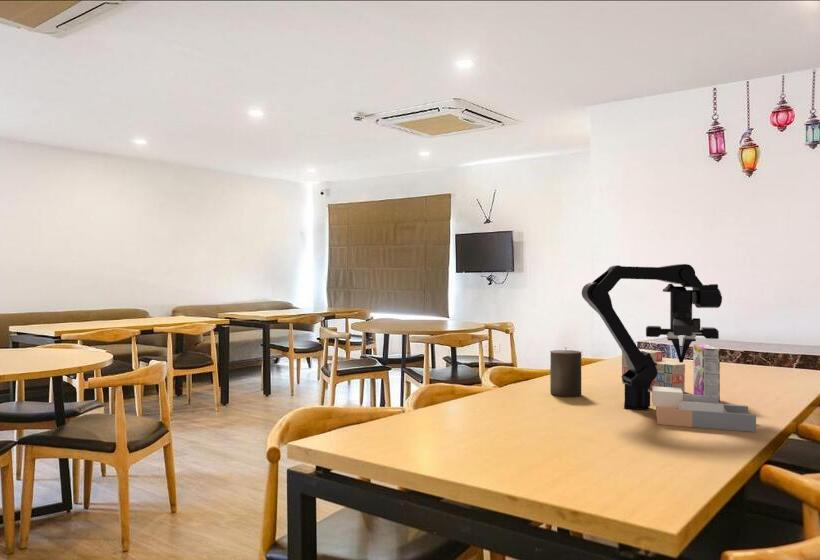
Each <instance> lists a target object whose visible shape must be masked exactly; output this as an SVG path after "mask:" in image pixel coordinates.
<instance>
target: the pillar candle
mask: <svg viewBox="0 0 820 560" xmlns="http://www.w3.org/2000/svg"><path fill="white" fill-rule="evenodd" d="M549 352H550V358H549V359H550V369H549V370H550V373H549V375H550V376H549V377H550V378H549V379H550V382H549V383H550V390H549V391H550V395H552V396H558V397H565V398H566V397H568V398H571V397H581V396H582V351H580V350H575V349H574V350H573V349H572V350H571V349H567V347H565V349H558V350H557V349H556V350H555V349H554V350H550V351H549Z"/></svg>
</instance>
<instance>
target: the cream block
mask: <svg viewBox="0 0 820 560" xmlns="http://www.w3.org/2000/svg"><path fill="white" fill-rule="evenodd" d="M651 392H652V393H651V397H652V398H651V403H652V406H653V407H655V408H656V407H670V408H679V401H683V394H684V392H682V390H681V388H674V387H657V386H652V389H651Z"/></svg>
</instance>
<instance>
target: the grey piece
mask: <svg viewBox="0 0 820 560" xmlns="http://www.w3.org/2000/svg"><path fill="white" fill-rule="evenodd" d="M722 404H723V405H724V413H717V412H703V411H689V410H679V408H670V407H656V406H655V416H656V417H655V418H656V422H657V425H661V424H662V425H666V426H676V427H687V428H700V429H701V428H702V429H710V430H711V429H713V430H727V431H737V432H753V433H756V432H757V415H756V414H754V413H749V406H748V405H745V404H743V405H742V404H731V403H730V404H729V403H722Z"/></svg>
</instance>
